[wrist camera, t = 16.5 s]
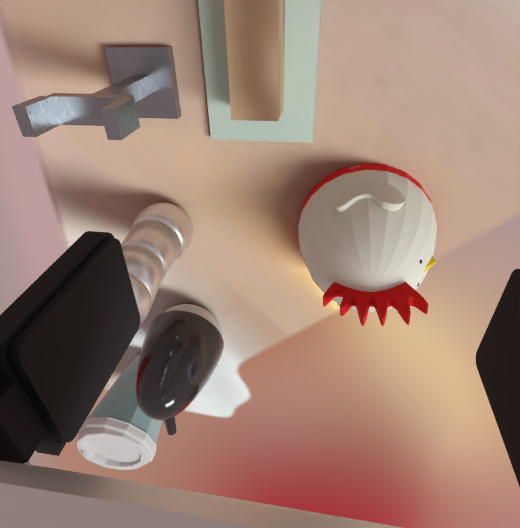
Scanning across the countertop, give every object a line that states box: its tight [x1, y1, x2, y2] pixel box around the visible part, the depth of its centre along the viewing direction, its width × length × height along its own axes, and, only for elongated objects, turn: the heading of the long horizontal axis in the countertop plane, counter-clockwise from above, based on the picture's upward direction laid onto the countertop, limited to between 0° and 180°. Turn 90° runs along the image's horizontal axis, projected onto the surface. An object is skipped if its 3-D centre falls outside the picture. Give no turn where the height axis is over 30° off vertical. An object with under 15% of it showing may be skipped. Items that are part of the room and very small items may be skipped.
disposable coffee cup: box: [77, 354, 162, 470], centre depth 56 cm, size 11×11×15 cm
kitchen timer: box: [298, 164, 437, 326], centre depth 36 cm, size 14×14×15 cm
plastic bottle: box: [121, 202, 193, 326], centre depth 38 cm, size 6×7×20 cm
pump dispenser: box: [136, 304, 224, 435], centre depth 49 cm, size 10×10×15 cm
